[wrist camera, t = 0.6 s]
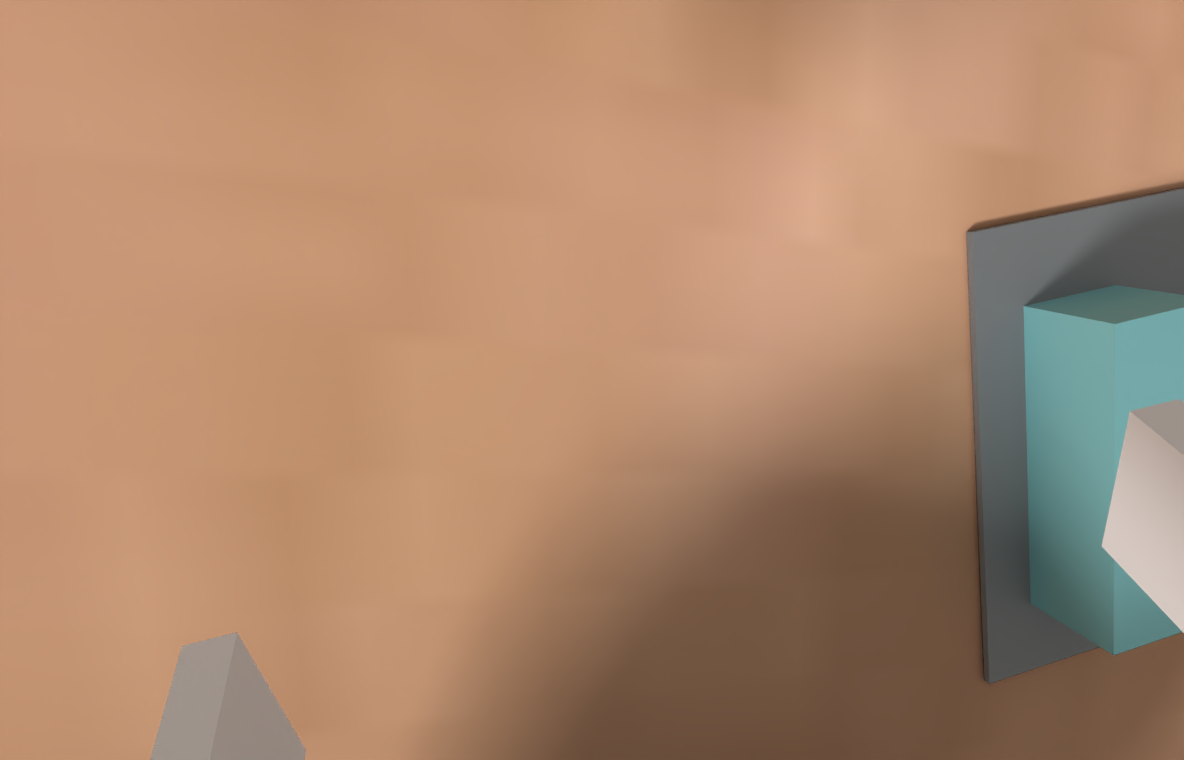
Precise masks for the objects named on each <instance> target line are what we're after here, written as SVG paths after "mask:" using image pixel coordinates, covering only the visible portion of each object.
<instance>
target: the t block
mask: <svg viewBox="0 0 1184 760" xmlns="http://www.w3.org/2000/svg"><path fill="white" fill-rule="evenodd" d="M1024 346H1025V389H1026V432H1027V474H1028V517H1029V559H1030V602H1031V604H1032V605H1034V606H1035V607H1037V608H1039V609H1040V610H1042V611H1043V612H1045V613H1047V614H1048V615H1050V616H1051V617H1053V618H1055V619H1056V620H1058V621H1059V622H1061V623H1063V624H1064V625H1066V626H1067V627H1069V628H1071V629H1072V630H1074V631H1075V632H1077V633H1079V634H1080V635H1082V636H1083V637H1085V638H1087V639H1088V640H1090V641H1091V642H1093V643H1095V644H1096V645H1098V646H1099V647H1101V648H1103V649H1104V650H1106V651H1107V652H1109V653H1111V654H1112V655H1116V654H1119V653H1122V652H1125V651H1128V650H1131V649H1134V648H1137V647H1140V646H1143V645H1146V644H1149V643H1152V642H1155V641H1157V640H1160V639H1163V638H1166V637H1169V636H1172V635H1175V634H1178V633H1181V632H1182V631H1181V630H1180V629H1179V628H1178V627H1177V626H1176V624H1175V623H1174V622H1173V621H1172V620H1171V619H1170V618H1169V617H1168V616H1167V615H1166V614H1165V613H1164V612H1163V611H1162V610H1161V609H1160V608H1159V606H1158V605H1157V604H1156V603H1155V602H1154V601H1153V600H1152V599H1151V598H1150V597H1149V596H1148V595H1147V594H1146V593H1145V592H1144V591H1143V590H1142V589H1141V587H1140V586H1139V585H1138V584H1137V583H1136V582H1135V581H1134V580H1133V579H1132V578H1131V577H1130V576H1129V575H1128V574H1127V573H1126V572H1125V571H1124V569H1123V568H1122V567H1121V566H1120V565H1119V564H1118V563H1117V562H1116V561H1115V560H1114V559H1113V558H1112V557H1111V556H1110V555H1109V554H1108V553H1107V552H1106V550H1105V549H1104V548H1103V547H1102V542H1103V537H1104V532H1105V527H1106V523H1107V518H1108V513H1109V508H1110V503H1111V499H1112V494H1113V489H1114V484H1115V480H1116V475H1117V470H1118V465H1119V460H1120V456H1121V451H1122V446H1123V441H1124V436H1125V432H1126V427H1127V422H1128V417H1129V413H1130V411H1132V410H1136V409H1140V408H1144V407H1148V406H1152V405H1157V404H1161V403H1165V402H1169V401H1173V400H1177V399H1180V400H1181V401H1183V402H1184V295H1181V294H1174V293H1167V292H1160V291H1153V290H1147V289H1140V288H1133V287H1126V286H1119V285H1114V286H1109V287H1105V288H1101V289H1096V290H1092V291H1088V292H1083V293H1079V294H1074V295H1070V296H1066V297H1061V298H1057V299H1053V300H1048V301H1044V302H1040V303H1035V304H1031V305H1027V306H1024Z"/></svg>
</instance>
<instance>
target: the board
mask: <svg viewBox="0 0 1184 760" xmlns="http://www.w3.org/2000/svg"><path fill="white" fill-rule="evenodd" d="M967 255H968V280H969V305H970V330H971V355H972V380H973V405H974V430H975V455H976V480H977V505H978V530H979V555H980V580H981V605H982V630H983V655H984V680H985V681H987V682H988V683H989V684H991V683H994V682H997V681H1000V680H1003V679H1006V678H1009V677H1011V676H1014V675H1017V674H1020V673H1023V672H1026V671H1029V670H1032V669H1035V668H1038V667H1041V666H1044V665H1047V664H1050V663H1053V662H1056V661H1059V660H1062V659H1065V658H1068V657H1071V656H1074V655H1077V654H1080V653H1083V652H1086V651H1089V650H1092V649H1095V648H1098V647H1099V646H1098V645H1096V644H1095V643H1093V642H1091V641H1090V640H1088V639H1087V638H1085V637H1083V636H1082V635H1080V634H1079V633H1077V632H1075V631H1074V630H1072V629H1071V628H1069V627H1067V626H1066V625H1064V624H1063V623H1061V622H1059V621H1058V620H1056V619H1055V618H1053V617H1051V616H1050V615H1048V614H1047V613H1045V612H1043V611H1042V610H1040V609H1039V608H1037V607H1035V606H1034V605H1032V604H1031V602H1030V559H1029V517H1028V474H1027V432H1026V389H1025V346H1024V306H1027V305H1031V304H1035V303H1040V302H1044V301H1048V300H1053V299H1057V298H1061V297H1066V296H1070V295H1074V294H1079V293H1083V292H1088V291H1092V290H1096V289H1101V288H1105V287H1109V286H1114V285H1119V286H1126V287H1133V288H1140V289H1147V290H1153V291H1160V292H1167V293H1174V294H1181V295H1184V187H1183V188H1179V189H1174V190H1169V191H1164V192H1159V193H1154V194H1149V195H1144V196H1139V197H1135V198H1130V199H1125V200H1120V201H1115V202H1110V203H1105V204H1100V205H1095V206H1091V207H1086V208H1081V209H1076V210H1071V211H1066V212H1061V213H1056V214H1052V215H1047V216H1042V217H1037V218H1032V219H1027V220H1022V221H1017V222H1012V223H1008V224H1003V225H998V226H993V227H988V228H983V229H978V230H973V231H968V232H967Z"/></svg>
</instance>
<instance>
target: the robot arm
mask: <svg viewBox="0 0 1184 760" xmlns="http://www.w3.org/2000/svg"><path fill="white" fill-rule="evenodd" d="M1102 547H1103V548H1104V549H1105V550H1106V552H1107V553H1108V554H1109V555H1110V556H1111V557H1112V558H1113V559H1114V560H1115V561H1116V562H1117V563H1118V564H1119V565H1120V566H1121V567H1122V568H1123V569H1124V571H1125V572H1126V573H1127V574H1128V575H1129V576H1130V577H1131V578H1132V579H1133V580H1134V581H1135V582H1136V583H1137V584H1138V585H1139V586H1140V587H1141V589H1142V590H1143V591H1144V592H1145V593H1146V594H1147V595H1148V596H1149V597H1150V598H1151V599H1152V600H1153V601H1154V602H1155V603H1156V604H1157V605H1158V606H1159V608H1160V609H1161V610H1162V611H1163V612H1164V613H1165V614H1166V615H1167V616H1168V617H1169V618H1170V619H1171V620H1172V621H1173V622H1174V623H1175V624H1176V626H1177V627H1178V628H1179V629H1180V630H1181V631H1182V632H1183V633H1184V402H1183V401H1181V400H1180V399H1177V400H1173V401H1169V402H1165V403H1161V404H1157V405H1152V406H1148V407H1144V408H1140V409H1136V410H1132V411H1130V413H1129V417H1128V422H1127V427H1126V432H1125V436H1124V441H1123V446H1122V451H1121V456H1120V460H1119V465H1118V470H1117V475H1116V480H1115V484H1114V489H1113V494H1112V499H1111V503H1110V508H1109V513H1108V518H1107V523H1106V527H1105V532H1104V537H1103V542H1102ZM305 752H306V749H305V747H304V746H303V744H302V742H301V741H300V739H299V737H298V735H297V734H296V732H295V730H294V729H293V727H292V725H291V723H290V722H289V720H288V718H287V717H286V715H285V713H284V712H283V710H282V708H281V706H280V705H279V703H278V701H277V700H276V698H275V696H274V694H273V693H272V691H271V689H270V688H269V686H268V684H267V683H266V681H265V679H264V677H263V676H262V674H261V672H260V671H259V669H258V667H257V665H256V664H255V662H254V660H253V659H252V657H251V655H250V654H249V652H248V650H247V648H246V647H245V645H244V643H243V642H242V640H241V638H240V636H239V635H238V633H233V634H228V635H224V636H220V637H216V638H212V639H208V640H204V641H200V642H196V643H192V644H188V645H184V646H182V648H181V652H180V655H179V659H178V662H177V666H176V670H175V673H174V677H173V680H172V684H171V688H170V691H169V695H168V698H167V702H166V705H165V709H164V713H163V716H162V720H161V723H160V727H159V730H158V734H157V738H156V741H155V745H154V748H153V752H152V755H151V759H150V760H305Z"/></svg>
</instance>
